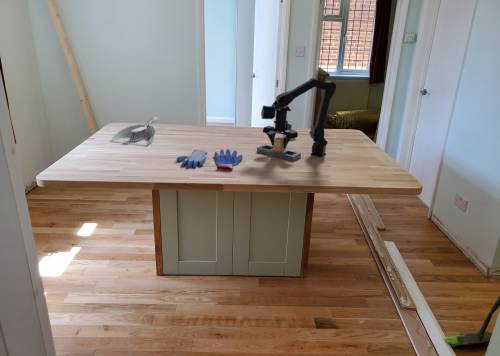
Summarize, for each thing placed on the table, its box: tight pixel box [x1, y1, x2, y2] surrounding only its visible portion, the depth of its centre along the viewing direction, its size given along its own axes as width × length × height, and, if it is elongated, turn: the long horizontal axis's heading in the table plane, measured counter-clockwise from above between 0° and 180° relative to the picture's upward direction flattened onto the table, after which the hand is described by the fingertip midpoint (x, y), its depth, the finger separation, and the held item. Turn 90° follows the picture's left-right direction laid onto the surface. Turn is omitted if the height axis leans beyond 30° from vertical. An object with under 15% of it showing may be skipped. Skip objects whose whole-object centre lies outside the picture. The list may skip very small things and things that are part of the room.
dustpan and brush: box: [112, 116, 159, 147], centre depth 230 cm, size 23×33×10 cm
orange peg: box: [273, 136, 284, 153], centre depth 209 cm, size 4×4×9 cm
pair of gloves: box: [176, 148, 243, 172], centre depth 196 cm, size 32×26×4 cm
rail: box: [256, 144, 302, 162], centre depth 210 cm, size 23×8×2 cm, turn 54°
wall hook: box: [282, 126, 297, 141], centre depth 242 cm, size 9×10×10 cm
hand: (278, 147), depth 209 cm, fingers open, 7 cm apart
